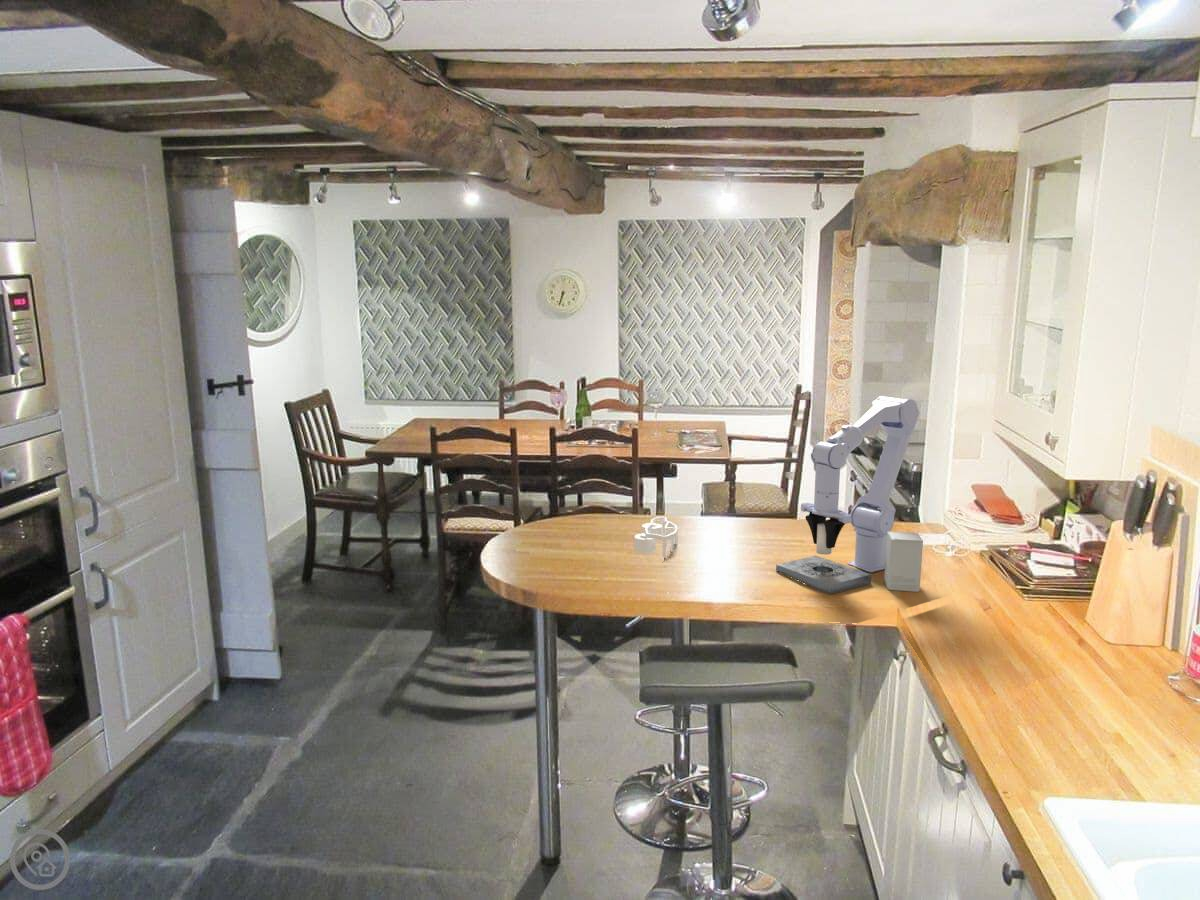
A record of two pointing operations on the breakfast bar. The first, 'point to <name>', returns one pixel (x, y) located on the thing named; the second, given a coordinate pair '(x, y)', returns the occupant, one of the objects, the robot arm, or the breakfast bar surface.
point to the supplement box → (903, 561)
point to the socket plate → (824, 574)
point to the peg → (822, 540)
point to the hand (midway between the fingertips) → (824, 545)
